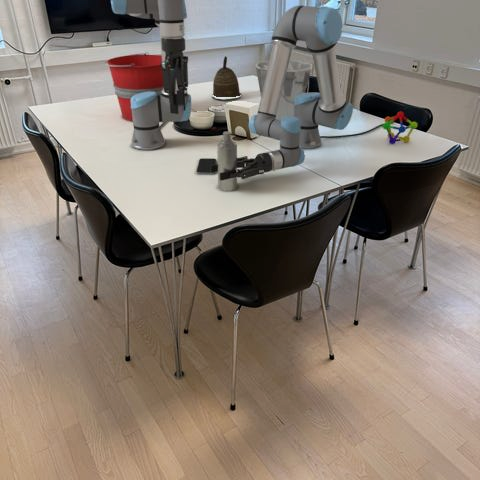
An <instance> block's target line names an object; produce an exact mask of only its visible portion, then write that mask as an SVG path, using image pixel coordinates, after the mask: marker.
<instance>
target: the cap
mask: <svg viewBox="0 0 480 480" xmlns="http://www.w3.org/2000/svg"><path fill="white" fill-rule="evenodd" d="M183 111H184V106H183V104H180V103H178V113H181V112H183Z"/></svg>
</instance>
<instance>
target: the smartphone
mask: <svg viewBox="0 0 480 480" xmlns="http://www.w3.org/2000/svg"><path fill="white" fill-rule="evenodd" d="M216 164H217V158H210V157H209V158H207V157H206V158H205V157H203V158H202V157H201V158H199V159H198V163H197V168H196V174H199V175H212V174H214V173H211V172H210V166H211V165H216Z"/></svg>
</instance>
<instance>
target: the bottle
mask: <svg viewBox="0 0 480 480" xmlns="http://www.w3.org/2000/svg"><path fill="white" fill-rule="evenodd" d="M216 149H217V164H218V172H217V188H218V190H220V191H222V192H232V191H233V192H234V191H235V190H237V189H238V177H235V178H231V179H226V180H222V181H220V173H222V172H227V171H232V170H237V169H238V168H237V158H238V144H237V143H236V141H234V140H233V139H232V132H231V131H223V132H222V139H221V140H220V141H219V142H217V145H216Z"/></svg>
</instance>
